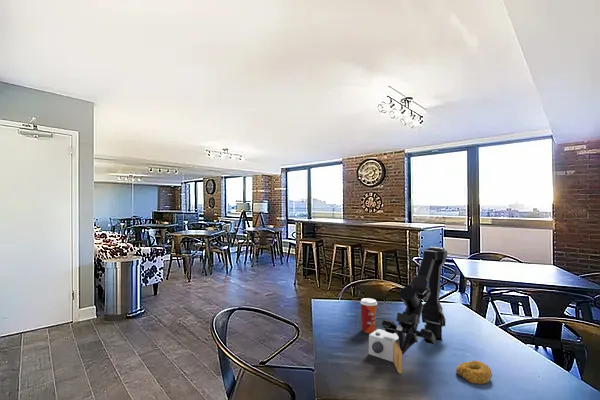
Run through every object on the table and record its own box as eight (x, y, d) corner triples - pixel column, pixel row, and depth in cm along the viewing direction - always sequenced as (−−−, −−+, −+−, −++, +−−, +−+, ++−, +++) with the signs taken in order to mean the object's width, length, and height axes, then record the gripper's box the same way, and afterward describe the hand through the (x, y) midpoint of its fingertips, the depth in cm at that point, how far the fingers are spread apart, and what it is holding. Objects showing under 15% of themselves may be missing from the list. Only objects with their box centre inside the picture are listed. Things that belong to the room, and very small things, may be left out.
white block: (378, 347, 137) (378, 327, 137) (401, 354, 130) (402, 334, 130) (367, 355, 129) (367, 334, 129) (391, 363, 123) (392, 341, 123)
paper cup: (372, 335, 149) (372, 303, 149) (356, 331, 153) (357, 300, 153) (379, 330, 155) (380, 299, 155) (364, 326, 160) (365, 296, 160)
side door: (401, 373, 116) (401, 351, 116) (397, 373, 116) (398, 351, 116) (395, 362, 124) (396, 340, 124) (392, 361, 124) (392, 340, 124)
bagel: (459, 366, 122) (460, 353, 122) (494, 377, 115) (494, 363, 115) (452, 377, 114) (452, 364, 114) (488, 390, 107) (489, 375, 107)
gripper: (382, 298, 128) (369, 337, 120) (432, 308, 117) (422, 352, 109) (391, 312, 135) (379, 350, 127) (439, 323, 123) (430, 365, 115)
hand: (401, 354), depth 119 cm, fingers closed
